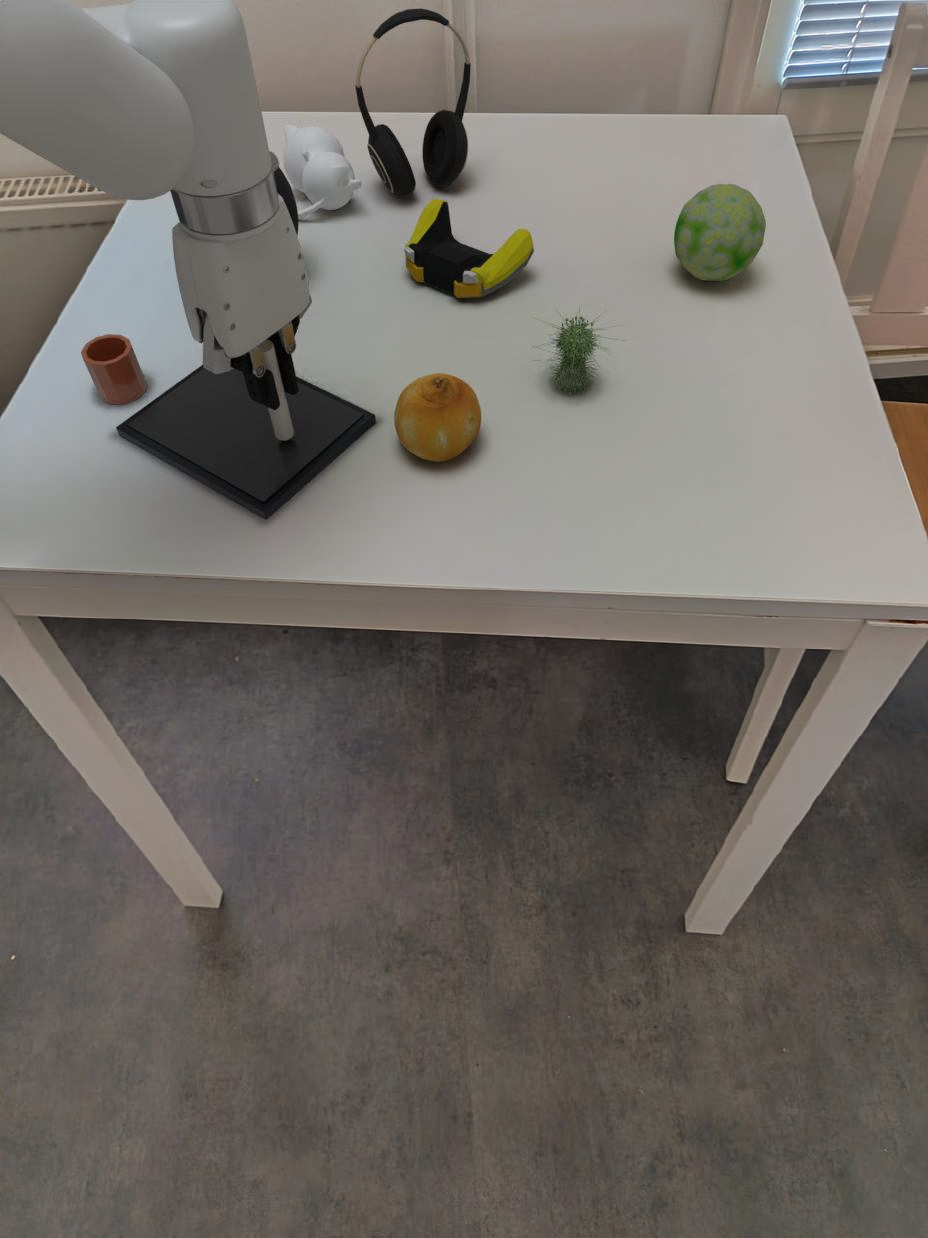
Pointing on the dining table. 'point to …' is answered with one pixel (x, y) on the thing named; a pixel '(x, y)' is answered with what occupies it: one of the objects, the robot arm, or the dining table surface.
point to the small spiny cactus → (574, 352)
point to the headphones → (442, 133)
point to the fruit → (437, 417)
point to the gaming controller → (461, 256)
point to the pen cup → (114, 369)
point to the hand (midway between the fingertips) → (274, 394)
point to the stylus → (280, 415)
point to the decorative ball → (719, 232)
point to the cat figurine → (318, 168)
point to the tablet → (245, 436)
